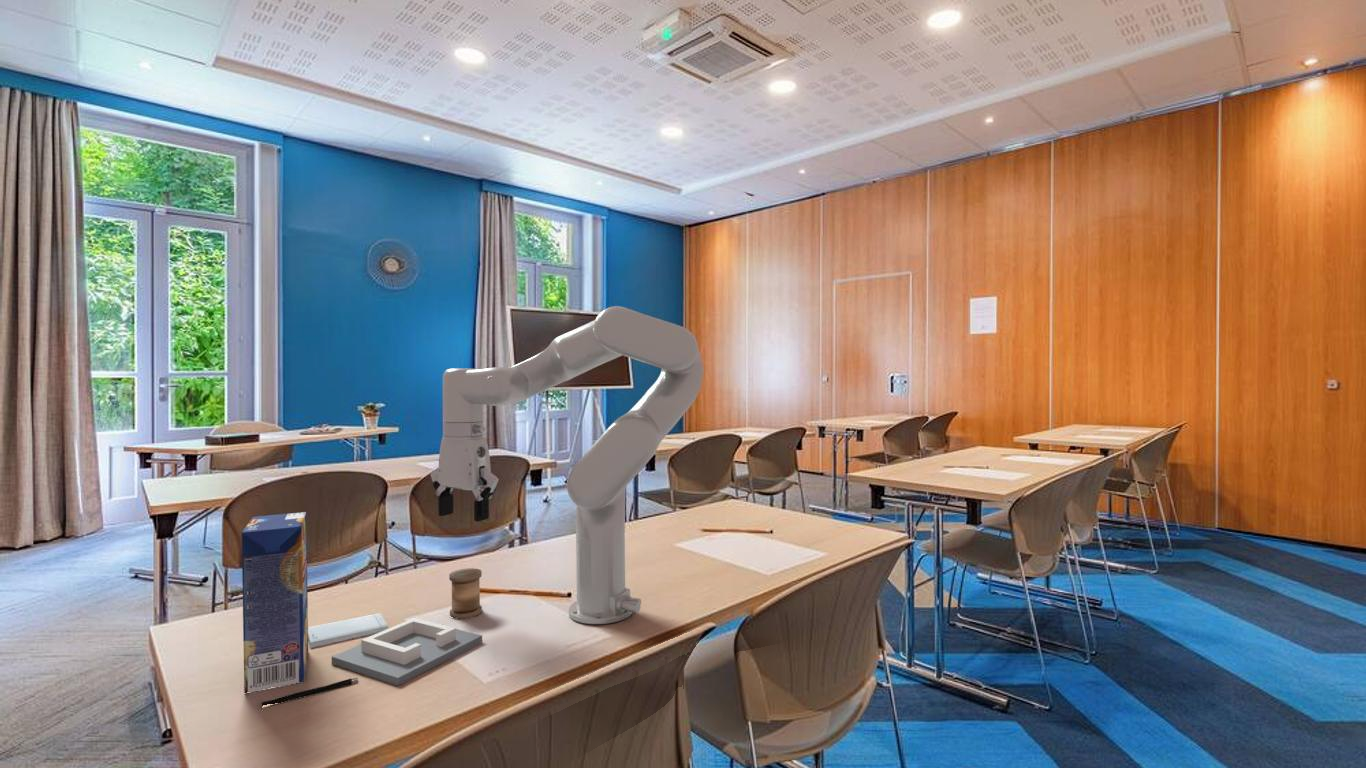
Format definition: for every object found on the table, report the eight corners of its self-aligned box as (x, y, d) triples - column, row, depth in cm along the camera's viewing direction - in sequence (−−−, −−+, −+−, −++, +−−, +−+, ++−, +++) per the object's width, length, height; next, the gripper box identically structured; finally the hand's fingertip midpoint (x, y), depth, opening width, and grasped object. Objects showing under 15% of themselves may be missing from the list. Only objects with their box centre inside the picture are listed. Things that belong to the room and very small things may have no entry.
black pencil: (357, 681, 95) (357, 675, 95) (358, 684, 94) (358, 678, 94) (261, 707, 88) (261, 700, 88) (261, 710, 87) (261, 703, 87)
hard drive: (309, 642, 106) (388, 624, 113) (305, 626, 113) (379, 611, 120) (310, 651, 106) (388, 633, 113) (305, 635, 113) (380, 619, 120)
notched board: (482, 642, 108) (482, 624, 108) (397, 685, 93) (397, 664, 93) (419, 626, 115) (419, 609, 115) (331, 663, 100) (331, 644, 100)
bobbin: (488, 610, 123) (488, 570, 123) (465, 621, 117) (464, 579, 117) (466, 605, 125) (466, 566, 125) (443, 616, 120) (442, 575, 120)
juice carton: (303, 682, 94) (301, 526, 94) (244, 694, 91) (241, 532, 90) (308, 652, 105) (306, 511, 104) (255, 662, 101) (253, 516, 101)
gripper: (510, 431, 120) (510, 518, 121) (447, 427, 128) (447, 509, 129) (481, 434, 114) (481, 526, 114) (417, 430, 122) (417, 516, 122)
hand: (463, 517), depth 121 cm, fingers open, 9 cm apart
